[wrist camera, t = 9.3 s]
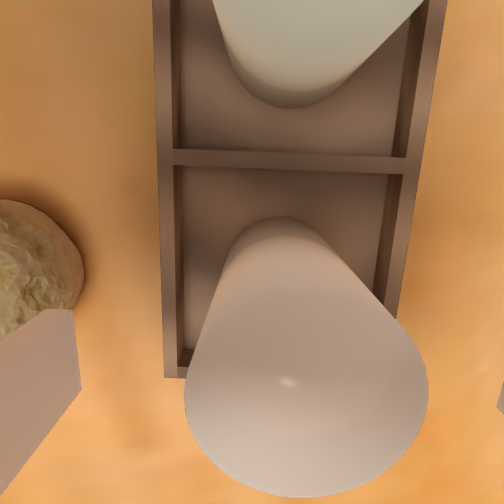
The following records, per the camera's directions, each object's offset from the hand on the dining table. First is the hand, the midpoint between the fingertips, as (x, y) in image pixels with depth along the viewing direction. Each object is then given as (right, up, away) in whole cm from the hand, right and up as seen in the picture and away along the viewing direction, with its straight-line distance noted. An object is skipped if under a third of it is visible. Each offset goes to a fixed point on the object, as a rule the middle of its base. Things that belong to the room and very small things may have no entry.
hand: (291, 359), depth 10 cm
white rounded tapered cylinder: (0, +2, +10) cm, 11 cm away
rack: (+1, +9, +10) cm, 13 cm away
